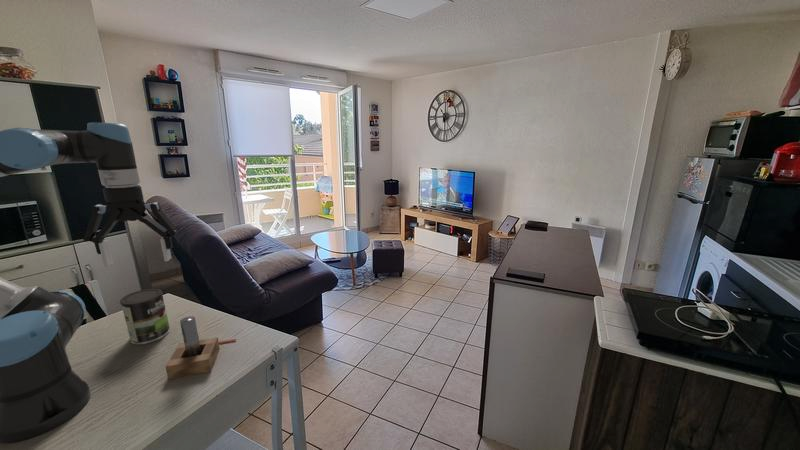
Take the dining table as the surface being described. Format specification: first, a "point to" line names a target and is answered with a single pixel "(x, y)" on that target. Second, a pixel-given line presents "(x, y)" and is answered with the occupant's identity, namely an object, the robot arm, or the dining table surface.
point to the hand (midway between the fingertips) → (139, 262)
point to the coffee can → (145, 316)
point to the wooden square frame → (193, 359)
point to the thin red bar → (227, 341)
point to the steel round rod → (190, 336)
